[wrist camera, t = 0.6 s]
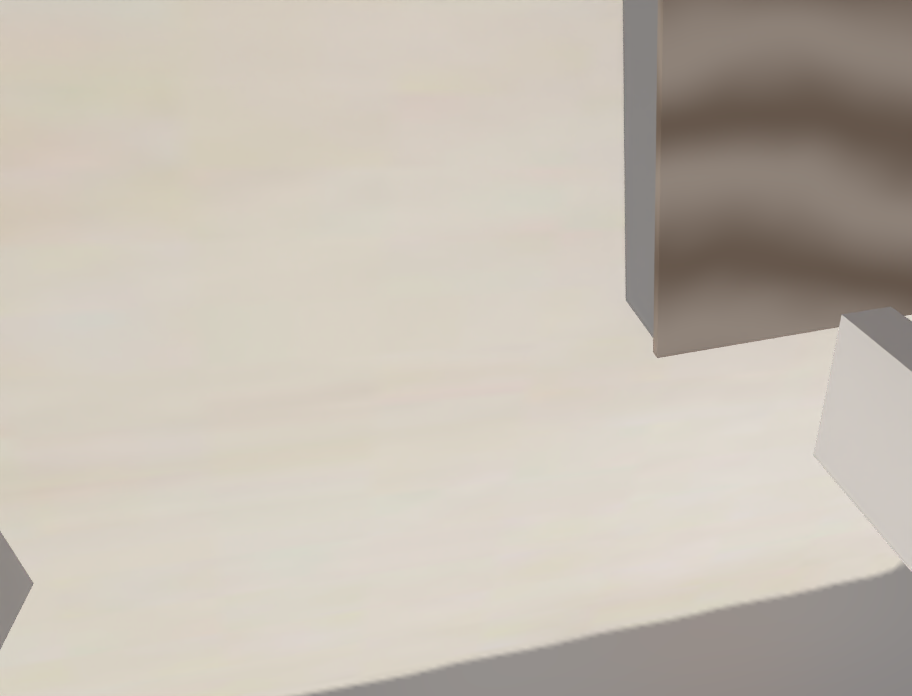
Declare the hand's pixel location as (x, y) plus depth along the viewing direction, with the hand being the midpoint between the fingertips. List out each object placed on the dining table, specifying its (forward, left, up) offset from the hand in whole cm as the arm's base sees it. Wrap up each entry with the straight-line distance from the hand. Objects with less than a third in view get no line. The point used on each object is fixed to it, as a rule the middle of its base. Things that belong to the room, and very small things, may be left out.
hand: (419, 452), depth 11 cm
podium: (+3, +22, -27) cm, 35 cm away
